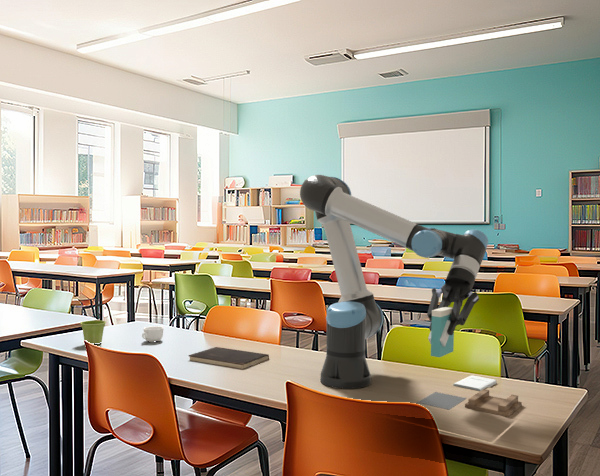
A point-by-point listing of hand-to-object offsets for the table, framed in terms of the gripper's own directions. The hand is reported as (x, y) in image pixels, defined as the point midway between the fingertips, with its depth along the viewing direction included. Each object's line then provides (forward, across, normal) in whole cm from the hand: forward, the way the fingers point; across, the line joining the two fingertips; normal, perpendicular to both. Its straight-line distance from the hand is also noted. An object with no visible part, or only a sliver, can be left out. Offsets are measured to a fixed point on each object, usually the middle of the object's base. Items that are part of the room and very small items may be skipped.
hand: (436, 342), depth 145 cm
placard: (0, 0, -5) cm, 5 cm away
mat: (+9, 0, -14) cm, 17 cm away
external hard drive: (-5, -2, -30) cm, 31 cm away
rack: (+6, -13, -17) cm, 22 cm away
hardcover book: (+13, +77, -13) cm, 79 cm away
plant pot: (+24, +135, -2) cm, 137 cm away
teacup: (+12, +122, -14) cm, 123 cm away
